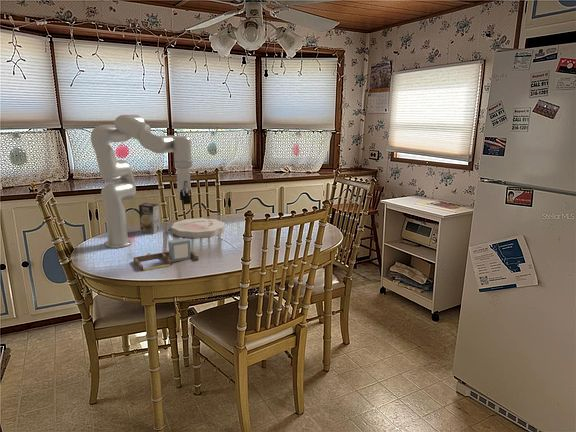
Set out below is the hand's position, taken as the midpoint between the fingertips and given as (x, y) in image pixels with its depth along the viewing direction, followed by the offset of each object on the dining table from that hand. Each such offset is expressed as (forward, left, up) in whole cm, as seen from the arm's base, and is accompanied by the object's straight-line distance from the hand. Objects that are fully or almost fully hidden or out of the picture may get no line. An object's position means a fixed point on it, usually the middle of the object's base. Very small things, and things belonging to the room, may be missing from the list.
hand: (185, 202), depth 185 cm
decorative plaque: (-41, +21, -27) cm, 53 cm away
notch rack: (0, -10, -27) cm, 29 cm away
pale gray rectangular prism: (0, -4, -27) cm, 27 cm away
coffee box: (-51, -4, -27) cm, 58 cm away
